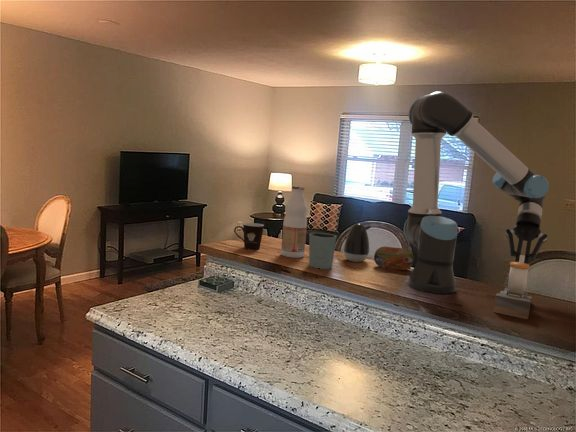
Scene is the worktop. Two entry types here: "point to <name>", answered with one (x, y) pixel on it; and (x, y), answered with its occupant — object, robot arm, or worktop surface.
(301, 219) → the fruit juice
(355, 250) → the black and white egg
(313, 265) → the green tapered cup
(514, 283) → the knob
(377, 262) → the tin
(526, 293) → the knob mount
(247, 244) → the coffee mug
